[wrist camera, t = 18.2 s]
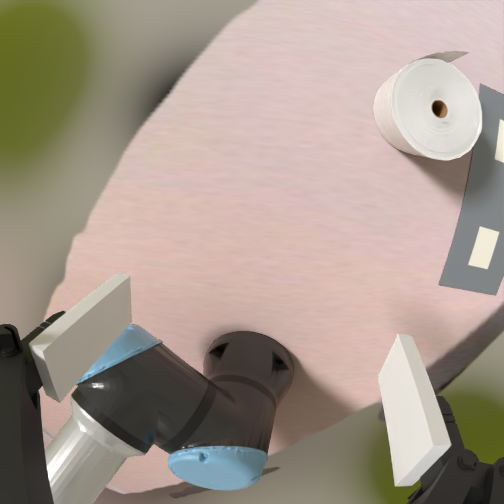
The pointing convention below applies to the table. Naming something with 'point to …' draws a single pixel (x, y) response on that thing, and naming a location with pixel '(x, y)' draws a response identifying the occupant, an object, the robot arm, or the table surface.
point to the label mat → (481, 208)
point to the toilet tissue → (429, 108)
